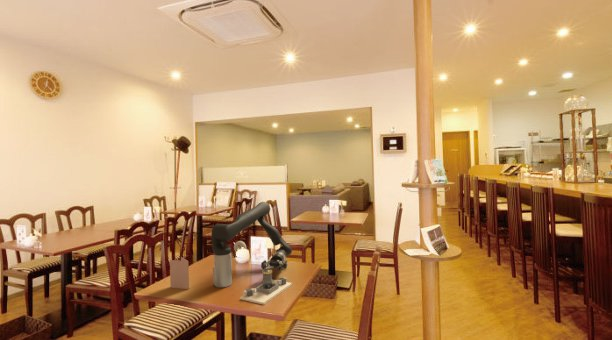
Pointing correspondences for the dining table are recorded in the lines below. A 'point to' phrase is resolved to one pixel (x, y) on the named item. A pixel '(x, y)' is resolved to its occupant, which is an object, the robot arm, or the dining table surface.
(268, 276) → the cylinder
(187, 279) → the greeting card
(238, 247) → the donut
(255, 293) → the stand
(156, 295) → the dining table surface
